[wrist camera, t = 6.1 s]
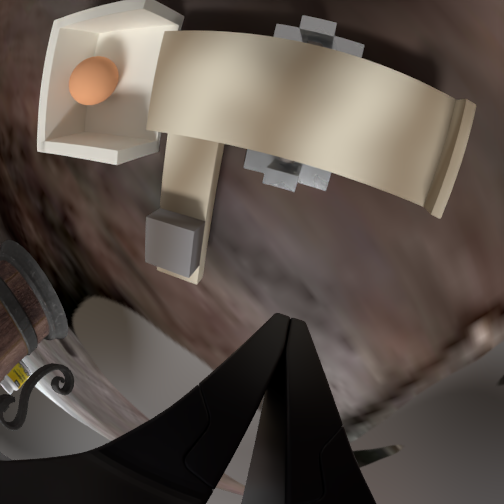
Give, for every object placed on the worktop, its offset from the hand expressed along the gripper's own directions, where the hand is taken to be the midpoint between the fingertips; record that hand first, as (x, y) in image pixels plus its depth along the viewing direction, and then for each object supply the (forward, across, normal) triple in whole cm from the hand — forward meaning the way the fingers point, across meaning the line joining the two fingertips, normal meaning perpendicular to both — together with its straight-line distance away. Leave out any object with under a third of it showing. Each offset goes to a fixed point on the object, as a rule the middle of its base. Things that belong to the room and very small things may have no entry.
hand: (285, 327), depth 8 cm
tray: (+10, +14, -6) cm, 19 cm away
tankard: (+10, +31, +25) cm, 41 cm away
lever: (+9, +2, -1) cm, 9 cm away
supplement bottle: (+8, +54, +59) cm, 80 cm away
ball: (+8, +15, -6) cm, 18 cm away
